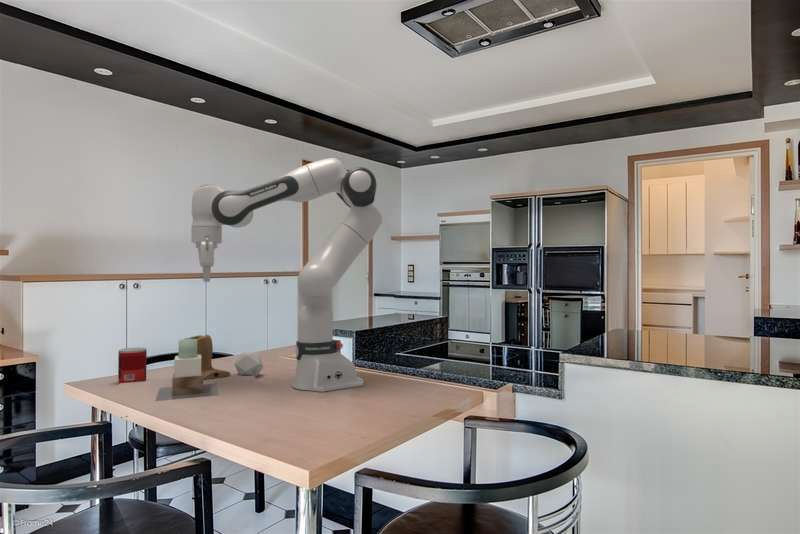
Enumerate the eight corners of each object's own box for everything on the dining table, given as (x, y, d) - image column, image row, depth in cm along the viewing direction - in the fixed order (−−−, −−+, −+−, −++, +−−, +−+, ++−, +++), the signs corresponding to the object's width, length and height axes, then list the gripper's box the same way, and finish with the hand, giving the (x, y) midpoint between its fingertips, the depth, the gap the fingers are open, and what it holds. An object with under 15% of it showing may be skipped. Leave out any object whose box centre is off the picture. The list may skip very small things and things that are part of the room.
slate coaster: (216, 387, 151) (216, 383, 151) (218, 399, 136) (218, 395, 136) (159, 392, 145) (159, 388, 145) (155, 405, 130) (155, 401, 130)
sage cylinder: (197, 355, 144) (197, 338, 144) (197, 357, 139) (197, 340, 139) (178, 356, 142) (178, 339, 142) (178, 359, 137) (178, 341, 137)
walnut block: (202, 387, 146) (202, 370, 146) (203, 393, 138) (203, 375, 138) (173, 389, 142) (173, 372, 143) (172, 396, 135) (172, 378, 135)
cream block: (201, 371, 145) (201, 354, 145) (201, 375, 139) (201, 358, 139) (175, 372, 142) (175, 356, 142) (174, 377, 136) (174, 359, 136)
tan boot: (172, 380, 161) (173, 335, 161) (205, 374, 170) (205, 331, 171) (199, 386, 152) (199, 338, 152) (231, 379, 162) (231, 334, 162)
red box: (151, 382, 158) (151, 348, 158) (126, 386, 151) (126, 351, 151) (138, 379, 162) (138, 346, 162) (113, 383, 155) (113, 349, 156)
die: (247, 382, 160) (265, 357, 163) (225, 368, 161) (244, 343, 165) (254, 386, 168) (271, 361, 171) (233, 372, 169) (251, 348, 173)
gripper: (218, 235, 142) (218, 282, 142) (216, 239, 161) (216, 281, 161) (195, 234, 139) (195, 282, 139) (195, 239, 158) (195, 281, 158)
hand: (206, 281), depth 150 cm, fingers open, 8 cm apart
